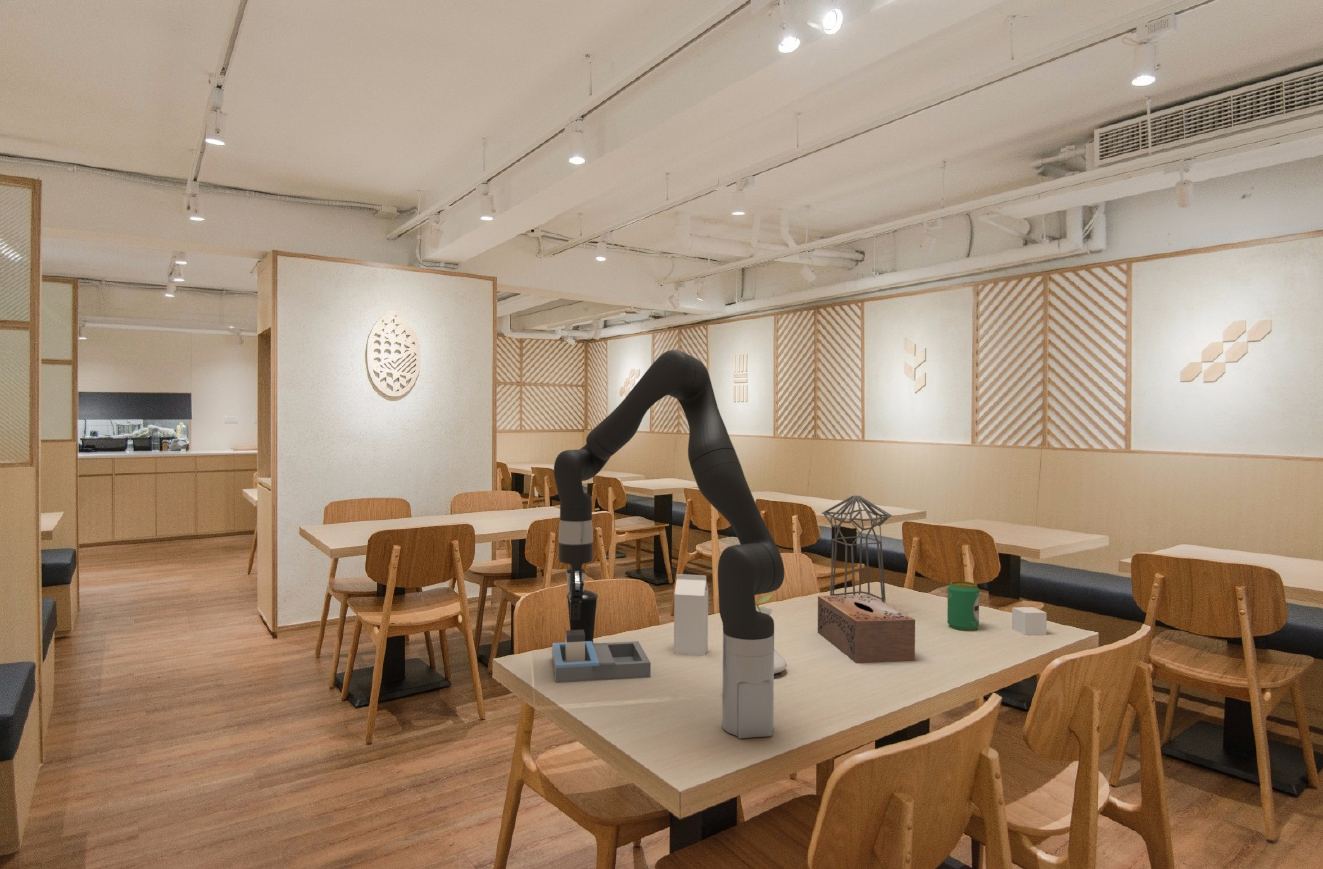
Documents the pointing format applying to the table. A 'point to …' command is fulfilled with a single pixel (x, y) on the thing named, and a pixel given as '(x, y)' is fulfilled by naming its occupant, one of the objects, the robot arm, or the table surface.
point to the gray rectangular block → (575, 646)
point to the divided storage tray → (602, 662)
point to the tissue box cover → (866, 628)
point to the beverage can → (963, 606)
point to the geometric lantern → (851, 502)
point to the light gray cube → (1029, 620)
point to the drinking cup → (585, 615)
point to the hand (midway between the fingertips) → (575, 618)
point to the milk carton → (691, 615)
